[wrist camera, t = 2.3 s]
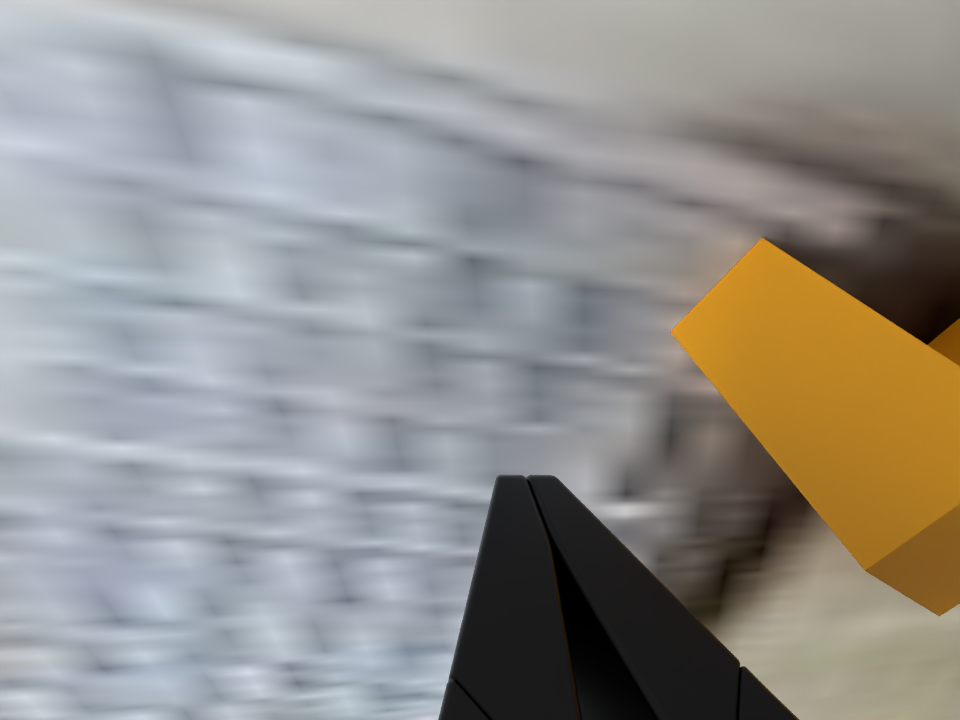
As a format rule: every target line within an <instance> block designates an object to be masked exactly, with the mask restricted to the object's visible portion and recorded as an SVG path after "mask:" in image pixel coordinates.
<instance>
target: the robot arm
mask: <svg viewBox="0 0 960 720" xmlns="http://www.w3.org/2000/svg"><path fill="white" fill-rule="evenodd" d="M438 720H799V719H798V718H797V717H796V716H795V715H794V714H793V713H792V712H791V711H790V710H789V709H788V708H787V707H786V706H785V705H783V704H782V703H781V702H780V701H779V700H778V699H777V698H776V697H775V696H774V695H773V694H772V693H771V692H770V691H769V690H768V689H767V688H766V687H765V686H764V685H763V684H762V683H761V682H760V681H759V680H758V679H757V678H756V677H755V676H754V675H753V674H752V673H751V672H750V671H749V670H748V669H747V668H746V667H744V666H743V667H740V662H739V660H738V659H737V658H736V657H735V656H734V655H733V654H732V653H731V652H730V651H729V650H728V649H727V648H726V647H725V646H724V645H723V644H722V643H721V642H720V641H719V640H718V639H717V638H716V637H715V636H714V635H713V634H712V633H711V632H710V631H709V630H708V629H707V628H706V627H705V626H704V625H703V624H702V623H701V622H700V621H699V620H698V619H697V618H696V617H695V616H694V615H693V614H692V613H691V612H690V611H689V610H688V609H687V608H686V607H685V606H684V605H683V604H682V603H681V602H680V601H679V600H678V599H677V598H676V597H675V596H674V595H673V594H672V593H671V592H670V591H669V590H668V589H667V588H666V587H665V586H664V585H663V584H662V583H661V582H660V581H659V580H658V579H657V578H656V577H655V576H654V575H653V574H652V573H651V572H650V571H649V570H648V569H647V568H646V567H645V566H644V565H643V564H642V563H641V562H640V561H639V560H638V559H637V558H636V557H635V556H634V555H633V554H632V553H631V552H630V551H629V550H628V549H627V548H626V547H625V546H624V545H623V544H622V543H621V542H620V541H619V540H618V539H617V538H616V537H615V536H614V535H613V534H612V533H611V532H610V531H609V530H608V529H607V528H606V527H605V526H604V525H603V524H602V523H601V521H600V520H599V519H598V518H597V517H596V516H595V515H594V514H593V513H592V512H591V511H590V510H589V509H588V508H587V507H586V506H585V505H584V504H583V503H582V502H581V501H580V500H579V499H578V498H577V497H576V496H575V495H574V494H573V493H572V492H571V491H570V490H569V489H568V488H567V487H566V486H565V485H564V484H563V483H562V482H561V481H560V480H559V479H558V478H556V477H554V476H552V475H529V476H528V477H526V478H525V477H524V476H522V475H499V476H498V477H497V478H496V481H495V485H494V490H493V494H492V498H491V502H490V506H489V511H488V515H487V519H486V523H485V527H484V532H483V536H482V540H481V544H480V548H479V553H478V557H477V561H476V565H475V570H474V574H473V578H472V582H471V586H470V591H469V595H468V599H467V603H466V607H465V612H464V616H463V620H462V624H461V629H460V633H459V637H458V641H457V645H456V650H455V654H454V658H453V662H452V666H451V671H450V675H449V681H448V683H447V686H446V690H445V694H444V699H443V703H442V707H441V711H440V715H439V719H438Z"/></svg>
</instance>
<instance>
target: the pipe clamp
mask: <svg viewBox="0 0 960 720" xmlns="http://www.w3.org/2000/svg"><path fill="white" fill-rule="evenodd" d="M670 333H671V334H672V335H673V336H674V337H675V339H676V340H677V341H678V342H679V344H680V345H681V346H682V347H683V348H684V350H685V351H686V352H687V353H688V355H689V356H690V357H691V358H692V359H693V361H694V362H695V363H696V364H697V366H698V367H699V368H700V369H701V371H702V372H703V373H704V374H705V375H706V377H707V378H708V379H709V380H710V382H711V383H712V384H713V385H714V386H715V388H716V389H717V390H718V391H719V393H720V394H721V395H722V396H723V397H724V399H725V400H726V401H727V402H728V404H729V405H730V406H731V407H732V408H733V410H734V411H735V412H736V413H737V415H738V416H739V417H740V418H741V420H742V421H743V422H744V423H745V424H746V426H747V427H748V428H749V429H750V431H751V432H752V433H753V434H754V435H755V437H756V438H757V439H758V440H759V442H760V443H761V444H762V445H763V446H764V448H765V449H766V450H767V451H768V453H769V454H770V455H771V456H772V458H773V459H774V460H775V461H776V462H777V464H778V465H779V466H780V467H781V469H782V470H783V471H784V472H785V473H786V475H787V476H788V477H789V478H790V480H791V481H792V482H793V483H794V484H795V486H796V487H797V488H798V489H799V491H800V492H801V493H802V494H803V496H804V497H805V498H806V499H807V500H808V502H809V503H810V504H811V505H812V507H813V508H814V509H815V510H816V511H817V513H818V514H819V515H820V516H821V518H822V519H823V520H824V521H825V522H826V524H827V525H828V526H829V527H830V529H831V530H832V531H833V532H834V533H835V535H836V536H837V537H838V538H839V540H840V541H841V542H842V543H843V545H844V546H845V547H846V548H847V549H848V551H849V552H850V553H851V554H852V556H853V557H854V558H855V559H856V560H857V562H858V563H859V564H860V565H861V567H862V568H863V569H864V570H865V571H866V572H868V573H869V574H871V575H873V576H874V577H876V578H878V579H879V580H881V581H883V582H884V583H886V584H887V585H889V586H891V587H892V588H894V589H896V590H897V591H899V592H900V593H902V594H904V595H905V596H907V597H909V598H910V599H912V600H913V601H915V602H917V603H918V604H920V605H922V606H923V607H925V608H927V609H928V610H930V611H931V612H933V613H935V614H936V615H938V616H941V615H942V614H944V613H945V612H947V611H949V610H950V609H952V608H953V607H955V606H956V605H958V604H960V318H959V319H958V320H957V321H956V322H954V323H953V324H952V325H951V326H950V327H948V328H947V329H946V330H945V331H944V332H942V333H941V334H940V335H939V336H938V337H936V338H935V339H934V340H933V341H932V342H930V343H929V344H928V345H926V344H925V343H923V342H922V341H920V340H918V339H917V338H915V337H914V336H912V335H911V334H909V333H908V332H906V331H905V330H903V329H902V328H900V327H899V326H897V325H895V324H894V323H892V322H891V321H889V320H888V319H886V318H885V317H883V316H882V315H880V314H879V313H877V312H876V311H874V310H872V309H871V308H869V307H868V306H866V305H865V304H863V303H862V302H860V301H859V300H857V299H856V298H854V297H853V296H851V295H849V294H848V293H846V292H845V291H843V290H842V289H840V288H839V287H837V286H836V285H834V284H833V283H831V282H830V281H828V280H826V279H825V278H823V277H822V276H820V275H819V274H817V273H816V272H814V271H813V270H811V269H810V268H808V267H807V266H805V265H803V264H802V263H800V262H799V261H797V260H796V259H794V258H793V257H791V256H790V255H788V254H787V253H785V252H784V251H782V250H781V249H779V248H777V247H776V246H774V245H773V244H771V243H770V242H768V241H767V240H765V239H764V238H761V239H760V240H759V241H758V242H757V243H756V245H755V246H754V247H753V248H752V249H751V250H750V251H749V252H748V253H747V254H746V255H745V256H744V257H743V258H742V259H741V260H740V261H739V262H738V263H737V264H736V265H735V266H734V267H733V268H732V269H731V270H730V271H729V272H728V273H727V274H726V275H725V276H724V277H723V278H722V279H721V280H720V281H719V282H718V283H717V284H716V286H715V287H714V288H713V289H712V290H711V291H710V292H709V293H708V294H707V295H706V296H705V297H704V298H703V299H702V300H701V301H700V302H699V303H698V304H697V305H696V306H695V307H694V308H693V309H692V310H691V311H690V312H689V313H688V314H687V315H686V316H685V317H684V318H683V319H682V320H681V321H680V322H679V323H678V324H677V325H676V327H675V328H674V329H673V330H672V331H671V332H670Z"/></svg>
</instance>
